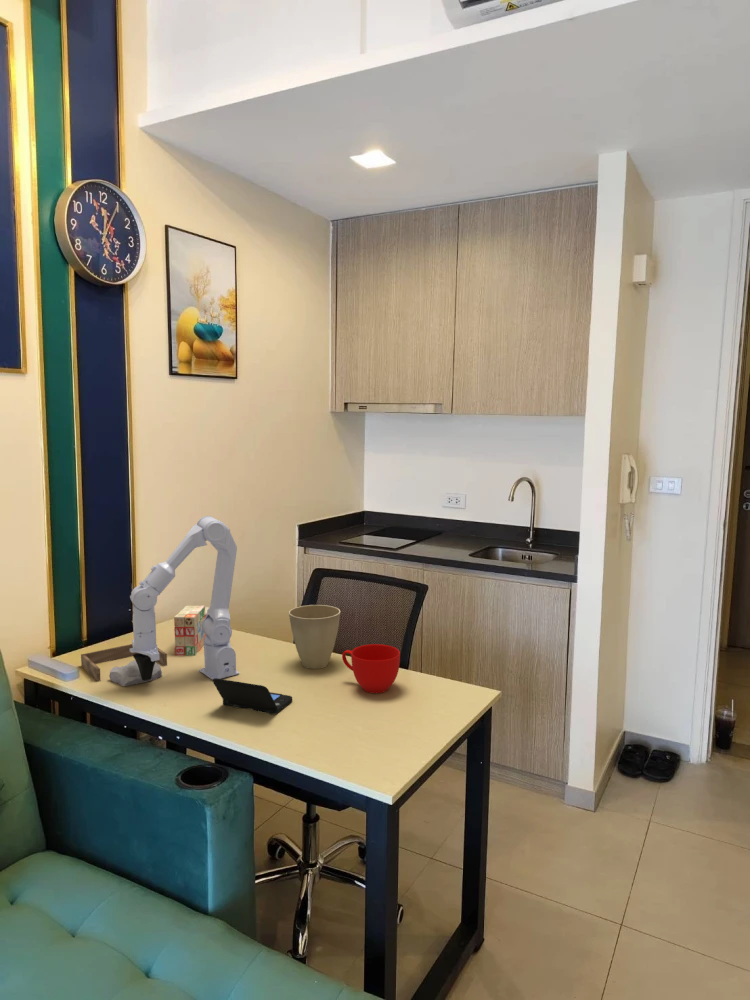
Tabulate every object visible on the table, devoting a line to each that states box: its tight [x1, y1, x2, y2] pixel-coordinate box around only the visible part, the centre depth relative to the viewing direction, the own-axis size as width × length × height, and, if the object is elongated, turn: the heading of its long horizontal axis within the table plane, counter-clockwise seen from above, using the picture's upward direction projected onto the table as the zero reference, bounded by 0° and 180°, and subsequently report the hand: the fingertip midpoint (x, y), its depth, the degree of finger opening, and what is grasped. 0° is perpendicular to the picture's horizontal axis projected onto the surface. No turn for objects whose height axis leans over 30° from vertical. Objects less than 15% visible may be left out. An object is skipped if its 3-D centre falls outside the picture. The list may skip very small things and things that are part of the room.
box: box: [80, 643, 168, 682], centre depth 198 cm, size 15×20×4 cm
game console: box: [212, 678, 293, 715], centre depth 171 cm, size 16×14×9 cm
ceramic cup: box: [341, 643, 401, 694], centre depth 183 cm, size 13×17×10 cm
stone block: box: [108, 659, 163, 687], centre depth 189 cm, size 12×5×10 cm
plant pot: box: [288, 604, 341, 670], centre depth 199 cm, size 15×15×16 cm
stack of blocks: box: [173, 605, 210, 656], centre depth 217 cm, size 21×6×12 cm, turn 178°
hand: (146, 679), depth 185 cm, fingers closed
